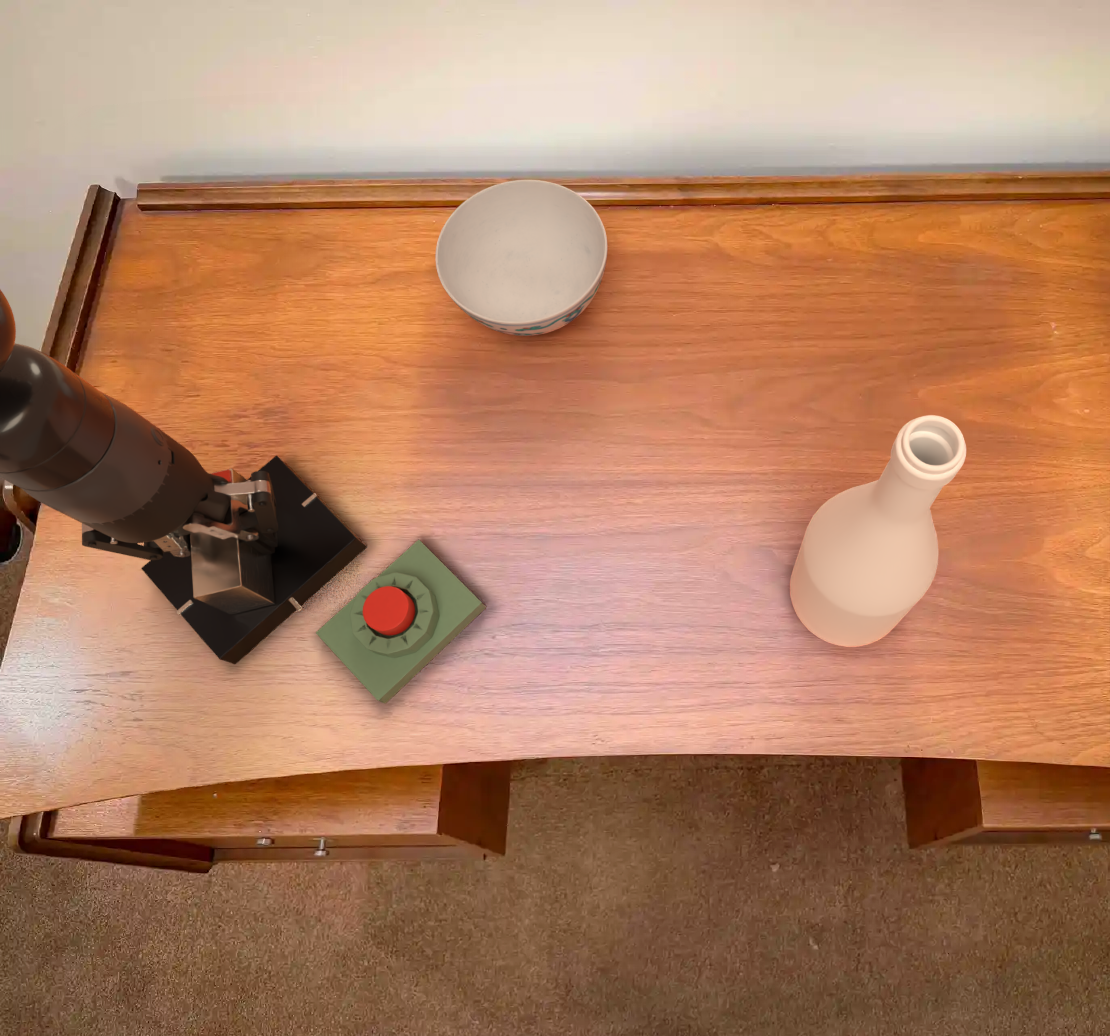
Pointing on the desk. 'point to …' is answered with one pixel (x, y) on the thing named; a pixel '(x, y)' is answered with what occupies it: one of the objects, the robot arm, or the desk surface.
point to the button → (388, 610)
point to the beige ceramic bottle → (877, 540)
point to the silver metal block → (230, 569)
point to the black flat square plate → (297, 567)
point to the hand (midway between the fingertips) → (243, 549)
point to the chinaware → (522, 256)
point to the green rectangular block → (434, 626)
